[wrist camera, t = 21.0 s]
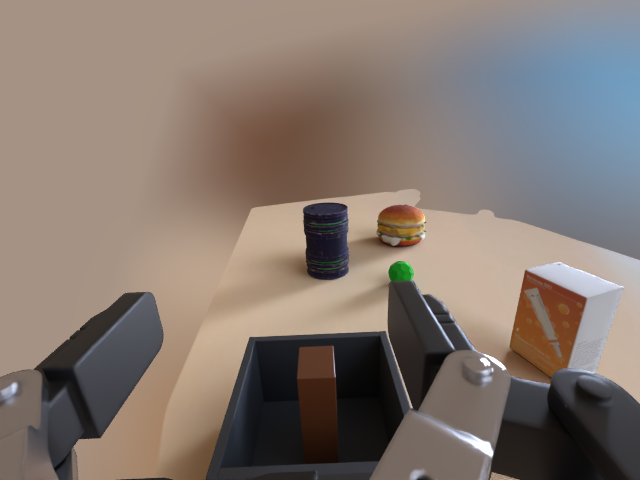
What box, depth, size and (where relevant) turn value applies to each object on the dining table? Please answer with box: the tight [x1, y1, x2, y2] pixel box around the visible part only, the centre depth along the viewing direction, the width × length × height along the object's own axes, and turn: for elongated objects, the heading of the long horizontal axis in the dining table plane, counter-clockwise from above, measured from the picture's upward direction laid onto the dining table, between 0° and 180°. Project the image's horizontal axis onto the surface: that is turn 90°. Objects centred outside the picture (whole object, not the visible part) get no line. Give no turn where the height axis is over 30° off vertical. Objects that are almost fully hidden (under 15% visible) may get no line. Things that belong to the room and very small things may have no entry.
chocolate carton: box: [297, 346, 339, 464], centre depth 30 cm, size 3×4×12 cm
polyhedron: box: [389, 261, 414, 281], centre depth 67 cm, size 5×5×5 cm
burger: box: [377, 205, 426, 246], centre depth 89 cm, size 13×14×10 cm
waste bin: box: [206, 331, 411, 480], centre depth 31 cm, size 16×16×10 cm
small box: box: [510, 262, 624, 378], centre depth 43 cm, size 8×6×13 cm
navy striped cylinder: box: [303, 203, 349, 280], centre depth 72 cm, size 10×10×15 cm
